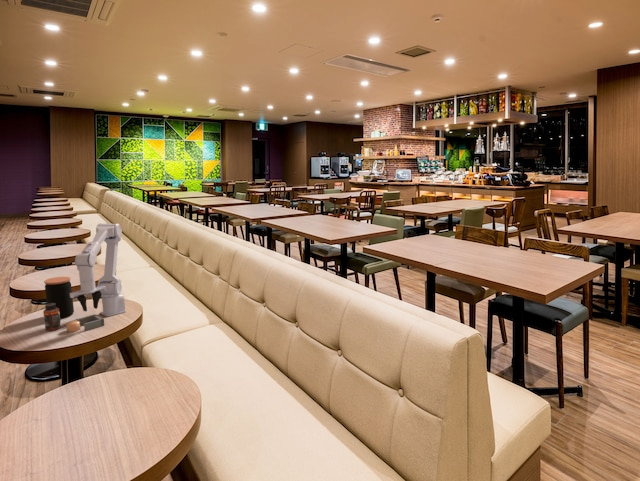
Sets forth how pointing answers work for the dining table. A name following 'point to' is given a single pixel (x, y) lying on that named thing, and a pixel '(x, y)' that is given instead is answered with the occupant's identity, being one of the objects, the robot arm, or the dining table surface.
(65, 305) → the coffee jar
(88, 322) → the dock
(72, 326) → the tan rounded knob
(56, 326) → the supplement bottle
